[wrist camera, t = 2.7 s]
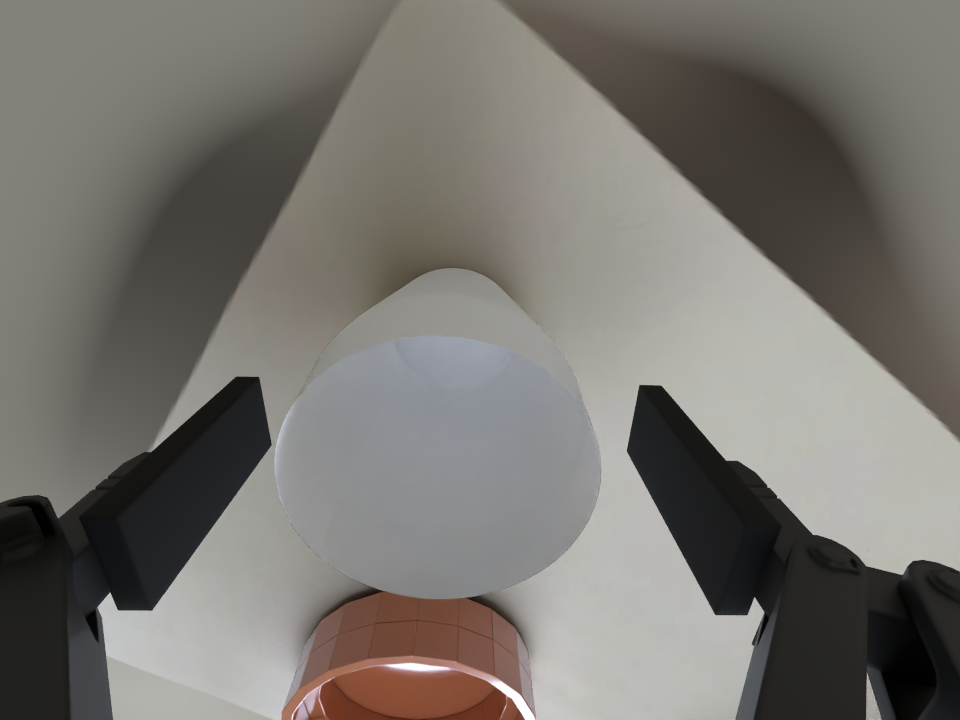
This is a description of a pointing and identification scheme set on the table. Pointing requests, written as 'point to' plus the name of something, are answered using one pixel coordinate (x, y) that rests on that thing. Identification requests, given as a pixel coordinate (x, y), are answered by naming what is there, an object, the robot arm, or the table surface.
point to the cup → (439, 444)
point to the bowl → (412, 664)
